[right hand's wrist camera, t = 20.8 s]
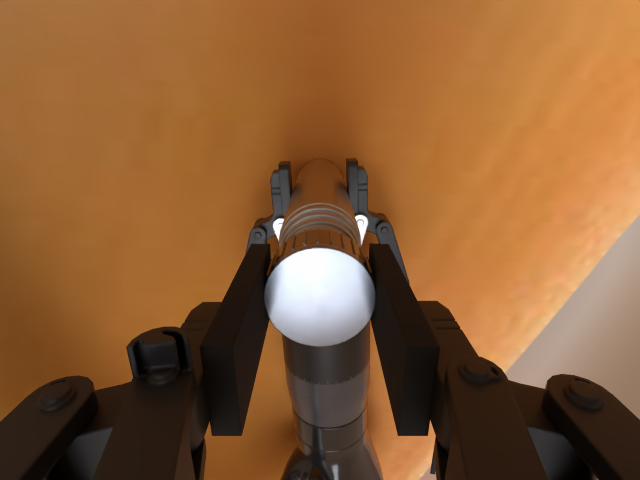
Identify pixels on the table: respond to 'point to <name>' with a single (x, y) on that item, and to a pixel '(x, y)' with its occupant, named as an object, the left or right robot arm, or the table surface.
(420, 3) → the table surface
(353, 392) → the left robot arm
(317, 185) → the bottle
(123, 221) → the table surface
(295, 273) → the cap
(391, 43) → the table surface
